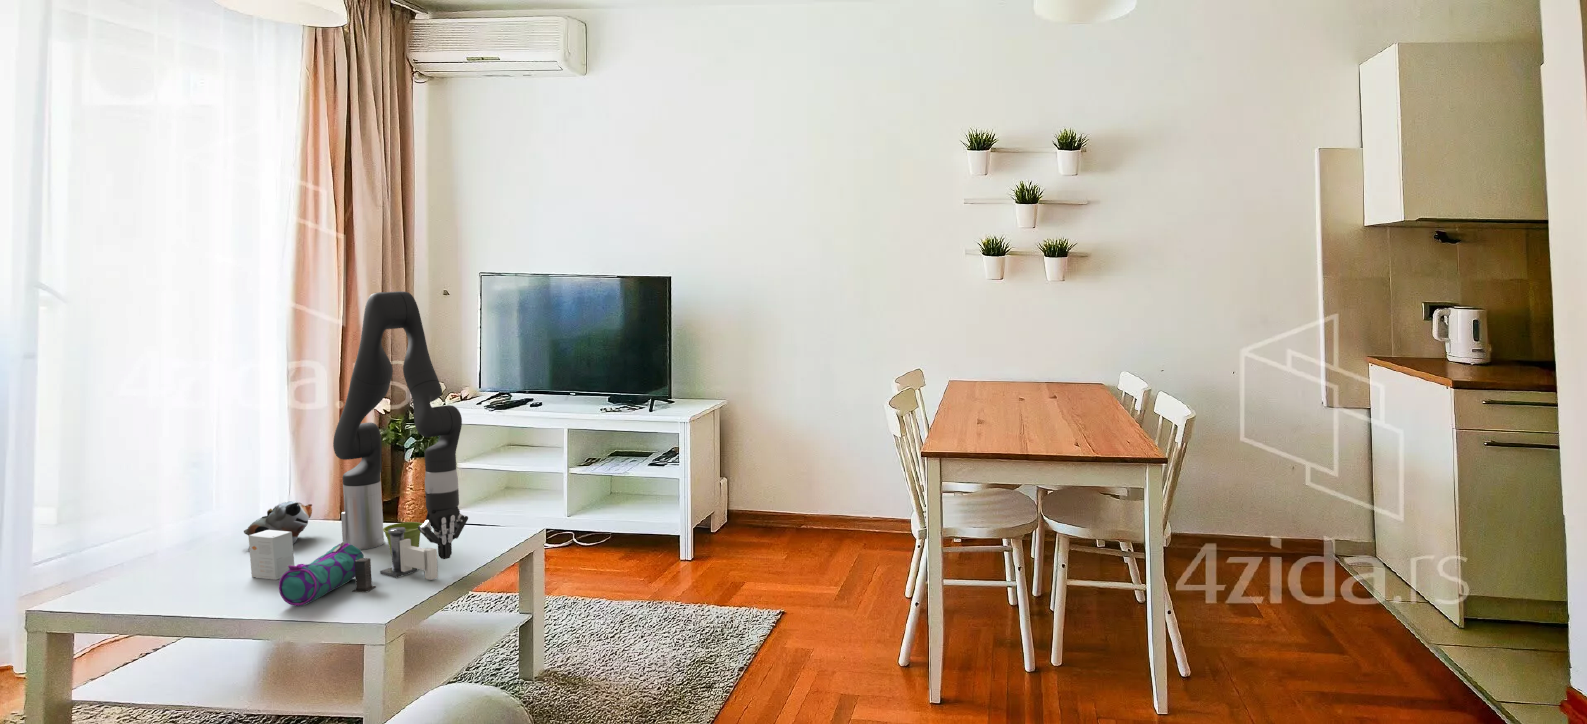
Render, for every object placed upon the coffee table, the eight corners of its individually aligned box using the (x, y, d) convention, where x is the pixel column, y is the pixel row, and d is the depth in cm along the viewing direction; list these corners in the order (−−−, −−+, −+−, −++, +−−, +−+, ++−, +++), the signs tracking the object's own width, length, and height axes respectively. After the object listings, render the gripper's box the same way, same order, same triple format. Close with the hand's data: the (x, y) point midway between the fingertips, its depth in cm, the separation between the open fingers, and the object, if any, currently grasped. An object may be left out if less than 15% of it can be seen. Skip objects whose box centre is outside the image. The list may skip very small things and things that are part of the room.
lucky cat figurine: (274, 534, 257) (298, 490, 258) (305, 553, 253) (330, 508, 255) (232, 533, 242) (259, 486, 244) (265, 553, 239) (291, 506, 240)
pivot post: (380, 574, 219) (377, 530, 219) (402, 567, 225) (399, 524, 224) (395, 577, 216) (393, 533, 215) (417, 570, 222) (415, 527, 221)
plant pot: (410, 566, 225) (408, 532, 225) (376, 564, 227) (375, 530, 226) (432, 555, 234) (430, 522, 234) (400, 553, 236) (398, 521, 236)
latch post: (352, 591, 207) (350, 561, 206) (361, 586, 210) (359, 557, 210) (367, 592, 206) (365, 562, 206) (375, 586, 210) (374, 557, 209)
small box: (295, 573, 221) (293, 531, 220) (275, 580, 216) (273, 537, 215) (270, 570, 224) (268, 528, 223) (250, 577, 218) (248, 534, 217)
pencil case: (330, 578, 217) (327, 539, 216) (366, 578, 217) (363, 539, 216) (277, 609, 197) (274, 566, 196) (316, 609, 196) (314, 566, 195)
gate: (401, 573, 218) (399, 540, 218) (409, 570, 220) (407, 538, 219) (430, 580, 213) (428, 546, 212) (438, 577, 215) (436, 544, 214)
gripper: (455, 481, 226) (458, 549, 227) (407, 491, 215) (411, 562, 216) (474, 484, 222) (477, 553, 223) (427, 495, 211) (430, 567, 212)
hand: (445, 558), depth 220 cm, fingers closed
